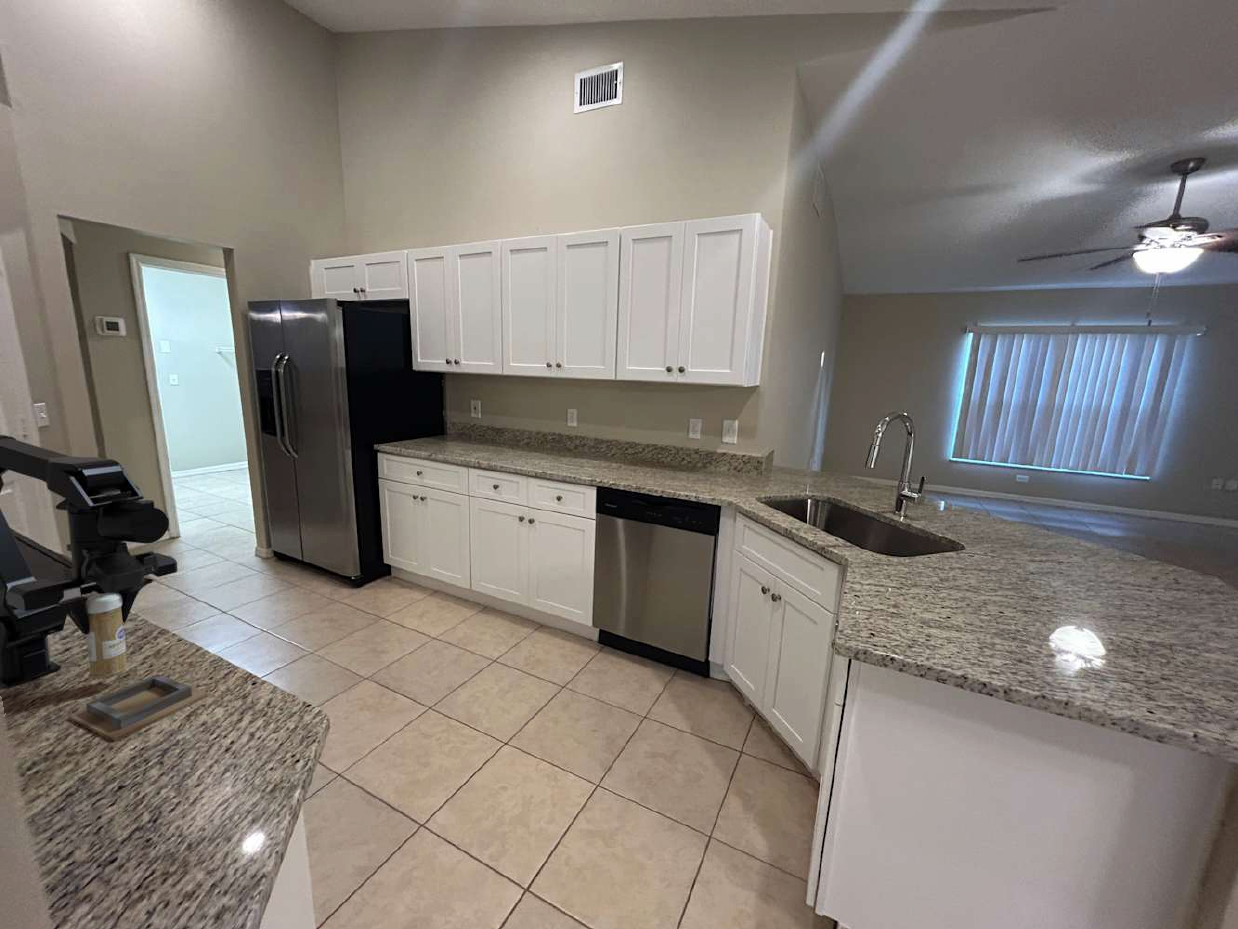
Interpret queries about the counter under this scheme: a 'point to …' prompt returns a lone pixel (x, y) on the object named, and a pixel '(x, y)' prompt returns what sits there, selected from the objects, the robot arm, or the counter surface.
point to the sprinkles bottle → (105, 635)
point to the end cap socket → (136, 706)
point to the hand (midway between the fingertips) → (104, 627)
